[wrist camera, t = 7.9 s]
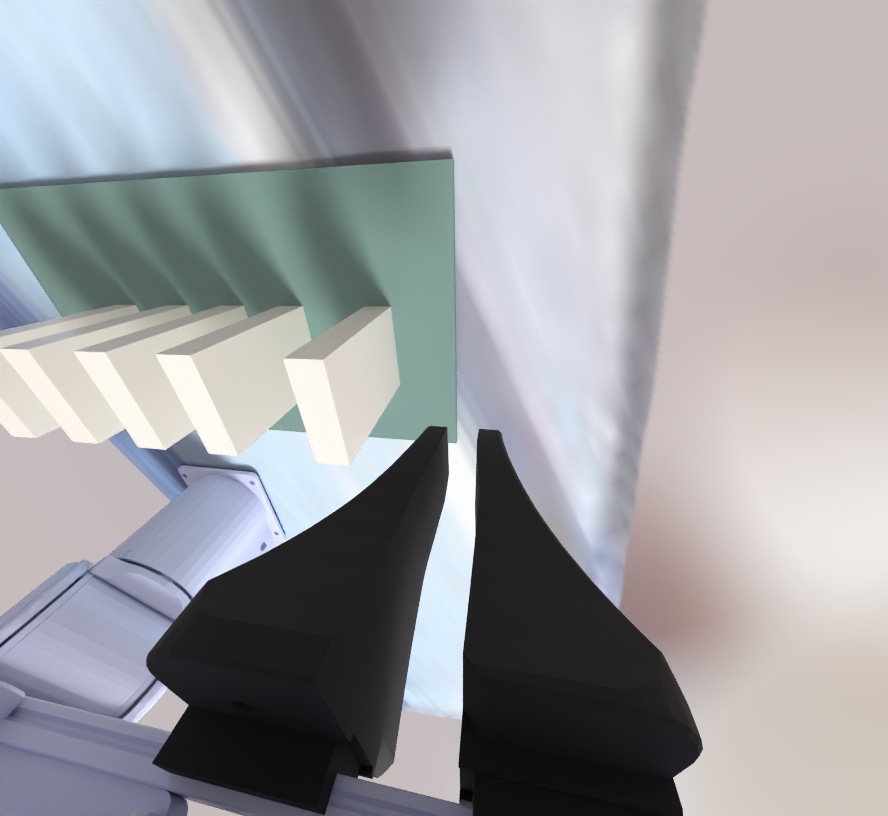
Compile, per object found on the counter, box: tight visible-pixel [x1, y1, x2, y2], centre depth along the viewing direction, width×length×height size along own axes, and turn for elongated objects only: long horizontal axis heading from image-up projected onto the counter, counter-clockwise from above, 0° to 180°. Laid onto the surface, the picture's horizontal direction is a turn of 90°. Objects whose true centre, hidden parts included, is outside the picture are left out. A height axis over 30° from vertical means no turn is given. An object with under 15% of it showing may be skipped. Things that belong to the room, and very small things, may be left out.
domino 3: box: [155, 306, 311, 456], centre depth 17 cm, size 5×2×8 cm, turn 2°
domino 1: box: [0, 305, 192, 444], centre depth 18 cm, size 5×2×8 cm, turn 2°
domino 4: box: [283, 306, 400, 466], centre depth 16 cm, size 5×2×8 cm, turn 2°
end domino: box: [0, 305, 139, 438], centre depth 19 cm, size 5×2×8 cm, turn 2°
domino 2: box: [73, 305, 248, 450], centre depth 17 cm, size 5×2×8 cm, turn 2°
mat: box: [0, 159, 457, 443], centre depth 20 cm, size 16×28×1 cm, turn 92°
